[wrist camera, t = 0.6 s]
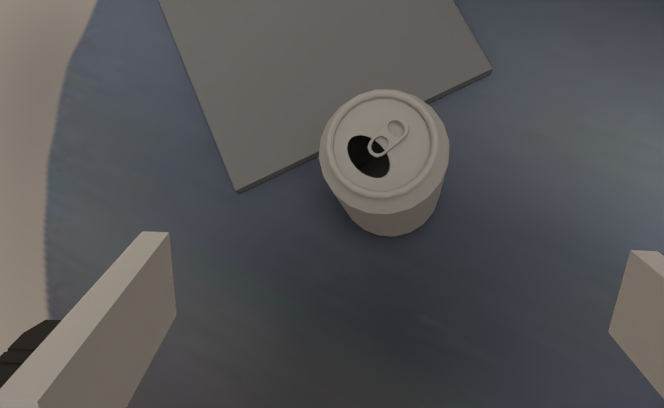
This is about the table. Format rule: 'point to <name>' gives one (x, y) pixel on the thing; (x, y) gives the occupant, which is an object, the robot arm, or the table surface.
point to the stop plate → (311, 68)
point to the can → (385, 160)
